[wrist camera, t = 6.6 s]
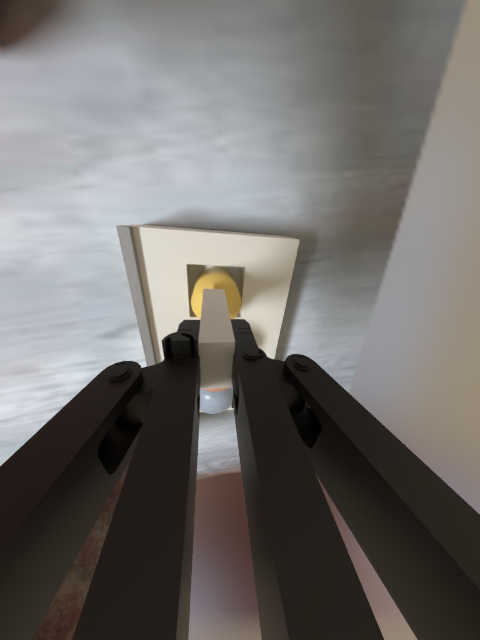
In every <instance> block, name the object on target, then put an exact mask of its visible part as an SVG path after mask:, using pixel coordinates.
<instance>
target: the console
mask: <svg viewBox="0 0 480 640" xmlns="http://www.w3.org/2000/svg"><path fill="white" fill-rule="evenodd" d="M116 227H117V231H118V236H119V240H120V245H121V249H122V254H123V258H124V263H125V267H126V272H127V276H128V281H129V286H130V290H131V295H132V299H133V304H134V308H135V313H136V317H137V322H138V326H139V331H140V335H141V340H142V344H143V349H144V354H145V358H146V363H147V367H148V366H152V365H155V364H158V363H160V362H162V361H163V360H164V354H163V348H162V340H163V338H164V337H166V336H167V335H169V334H171V333H174V332H177V331H178V327H179V324H180V323H181V322H182V321H183V320H200V319H199V318H198V317H197V316H196V315H195V314H194V312H193V310H192V306H191V298H192V294H193V290H194V286H195V283H196V279H197V277H198V276H199V275H200V273H201V272H203V271H204V270H206V269H208V268H213V267H217V268H222V269H224V270H226V271H228V272H229V273H230V274H231V275H232V277H233V278H234V281H235V283H236V286H237V288H238V291H239V294H240V297H241V308H240V311H239V313H238V314H237V316H236V317H235V318H234V319H245V320H246V321H247V322H248V323H249V324H250V327H251V330H252V332H253V335H254V338H255V340H256V343H257V345H258V348H260V349H262V350H263V351H264V352H265V353H266V355H267V357H269V358H271V359H274V358H275V353H276V348H277V344H278V339H279V334H280V330H281V325H282V320H283V316H284V311H285V306H286V302H287V297H288V292H289V288H290V283H291V279H292V274H293V269H294V265H295V260H296V255H297V251H298V246H299V241H300V240H299V239H294V238H289V237H284V236H278V235H266V234H253V233H241V232H229V231H216V230H204V229H191V228H179V227H166V226H154V225H122V226H116ZM231 389H232V396H233V386H232V388H231ZM231 407H232V405H231ZM231 407H230V408H229V409H227V410H234V408H231ZM200 412H202V411H201V410H200Z"/></svg>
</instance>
